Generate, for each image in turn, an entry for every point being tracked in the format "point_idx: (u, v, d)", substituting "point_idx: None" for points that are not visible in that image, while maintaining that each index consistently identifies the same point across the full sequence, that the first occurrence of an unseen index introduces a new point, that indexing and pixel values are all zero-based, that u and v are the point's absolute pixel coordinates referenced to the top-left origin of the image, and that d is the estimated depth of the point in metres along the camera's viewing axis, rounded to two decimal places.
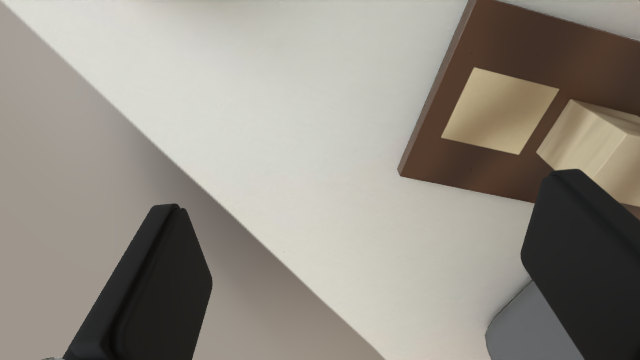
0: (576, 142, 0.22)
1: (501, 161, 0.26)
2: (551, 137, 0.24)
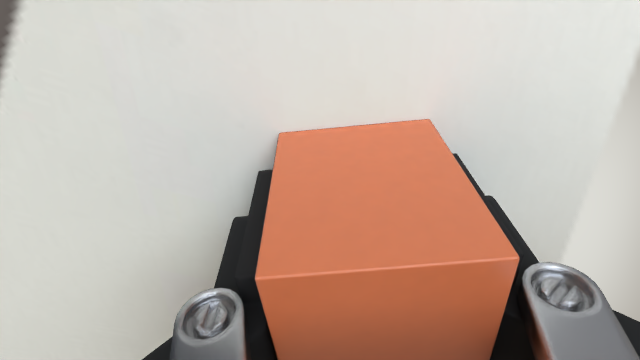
0: None
1: None
2: None
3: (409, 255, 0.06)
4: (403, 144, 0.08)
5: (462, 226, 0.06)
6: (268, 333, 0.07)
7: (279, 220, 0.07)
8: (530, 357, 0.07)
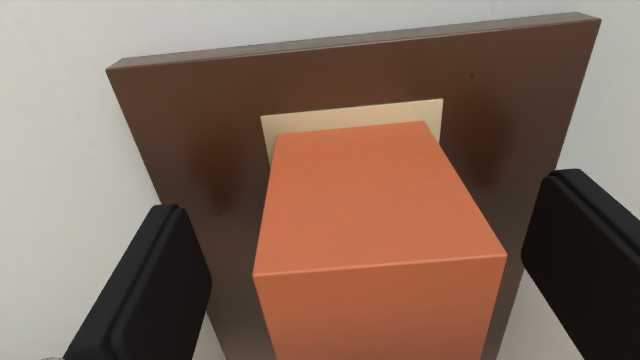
0: None
1: None
2: None
3: (400, 252, 0.06)
4: (397, 146, 0.09)
5: (452, 224, 0.06)
6: None
7: (276, 219, 0.07)
8: None
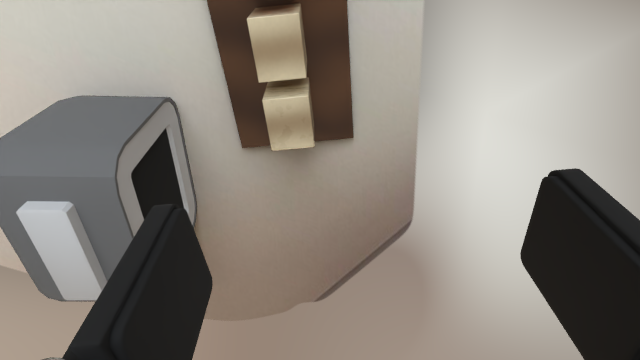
0: (277, 10, 0.29)
1: None
2: (270, 7, 0.31)
3: None
4: None
5: None
6: None
7: None
8: None
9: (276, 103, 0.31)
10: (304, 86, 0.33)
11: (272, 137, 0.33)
